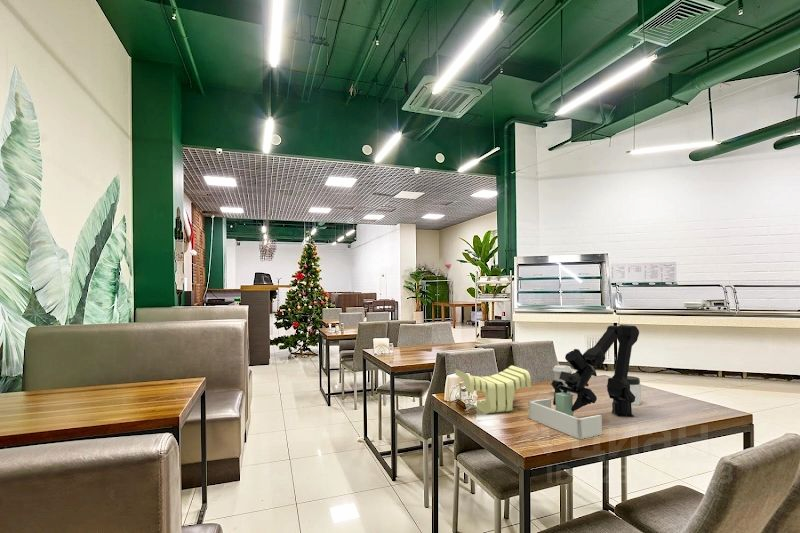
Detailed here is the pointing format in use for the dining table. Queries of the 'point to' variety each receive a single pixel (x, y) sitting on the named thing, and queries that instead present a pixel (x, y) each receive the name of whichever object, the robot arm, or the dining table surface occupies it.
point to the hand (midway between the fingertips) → (562, 407)
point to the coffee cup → (557, 372)
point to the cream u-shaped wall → (565, 420)
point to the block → (564, 403)
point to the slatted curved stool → (497, 388)
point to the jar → (635, 389)
